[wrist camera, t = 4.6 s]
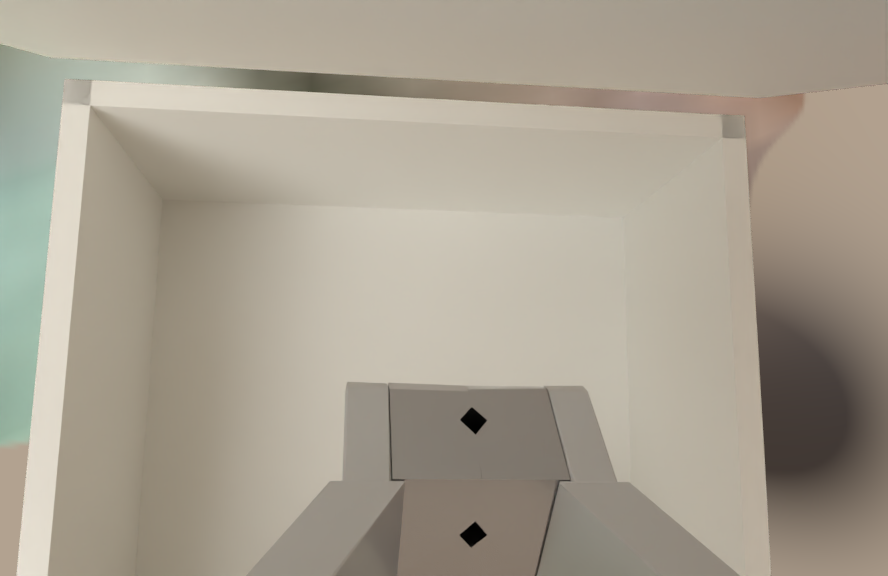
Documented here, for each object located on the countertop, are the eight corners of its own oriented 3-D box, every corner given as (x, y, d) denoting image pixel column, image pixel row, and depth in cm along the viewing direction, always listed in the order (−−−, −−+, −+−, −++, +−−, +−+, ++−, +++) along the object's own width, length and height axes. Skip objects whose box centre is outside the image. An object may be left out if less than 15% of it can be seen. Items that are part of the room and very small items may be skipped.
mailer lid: (-1870, -479, 3) (-1965, -752, 2) (50, 57, 18) (49, 24, 18) (2237, -68, 4) (2296, -215, 4) (759, 98, 20) (762, 68, 20)
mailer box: (106, 727, 24) (-12, 868, 16) (147, 184, 27) (64, 78, 19) (651, 712, 25) (786, 833, 18) (634, 205, 28) (744, 115, 21)
